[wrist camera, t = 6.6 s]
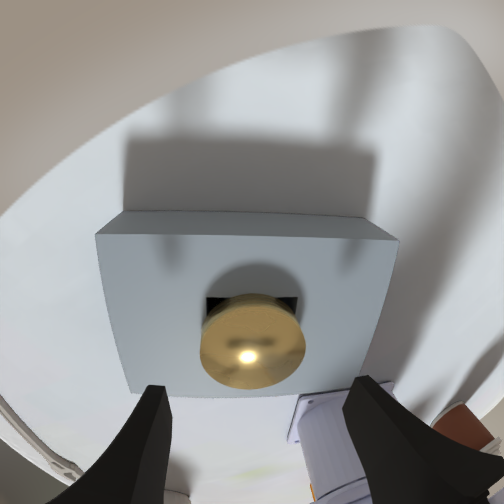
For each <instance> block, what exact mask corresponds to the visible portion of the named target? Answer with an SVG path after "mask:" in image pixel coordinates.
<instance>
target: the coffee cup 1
mask: <svg viewBox="0 0 504 504" xmlns="http://www.w3.org/2000/svg"><path fill="white" fill-rule="evenodd" d="M164 504H191V501H190V500H189V497H188V496H187V495H185V494H182V493H179V492H174V491H167V490H164Z"/></svg>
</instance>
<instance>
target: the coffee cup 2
mask: <svg viewBox="0 0 504 504" xmlns="http://www.w3.org/2000/svg"><path fill="white" fill-rule="evenodd" d="M430 427H431V428H433V429H434V430H436V431H438V432H439V433H441V434H442V435H444V436H446V437H448V438H450V439H452V440H454V441H456V442H458V443H460V444H462V445H465V446H467V447H470V448H472V449H475V450H478V451H481V452H485V453H489V454H493V455H498V456H499V455H500V454H501V452H500V451H499V447H500V445H499V444H500V443H501V439H500V438H499V437H497V438H496V439H495V438H494V437H493V436H492V435H491V434H490V432H489V431H488V430H487V429H486V428H485V427H484V425H483V424H482V423H481V422H480V421H479V420H478V418H477V417H476V416H475V415H474V414H473V413H472V412H471V411H470V409H469V408H468V407H467V406H466V405H465V404H464V402H463V401H458V402H456V403H454V404H452V405H451V406H449V407H448V408H446V409H445V410H444V411H443V412H442V413H440V414H439V415H438V416H437V417H436V418H435V419H434V420H433V422H432V423H431V425H430Z"/></svg>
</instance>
